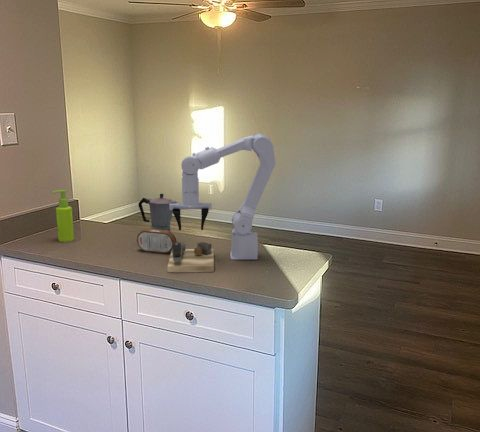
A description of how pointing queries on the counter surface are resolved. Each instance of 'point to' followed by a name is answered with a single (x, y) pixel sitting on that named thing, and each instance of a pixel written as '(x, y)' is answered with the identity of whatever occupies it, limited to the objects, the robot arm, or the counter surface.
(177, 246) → the lever
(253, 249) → the robot arm
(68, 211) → the soap dispenser
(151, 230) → the tin
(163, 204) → the moka pot
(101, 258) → the counter surface
